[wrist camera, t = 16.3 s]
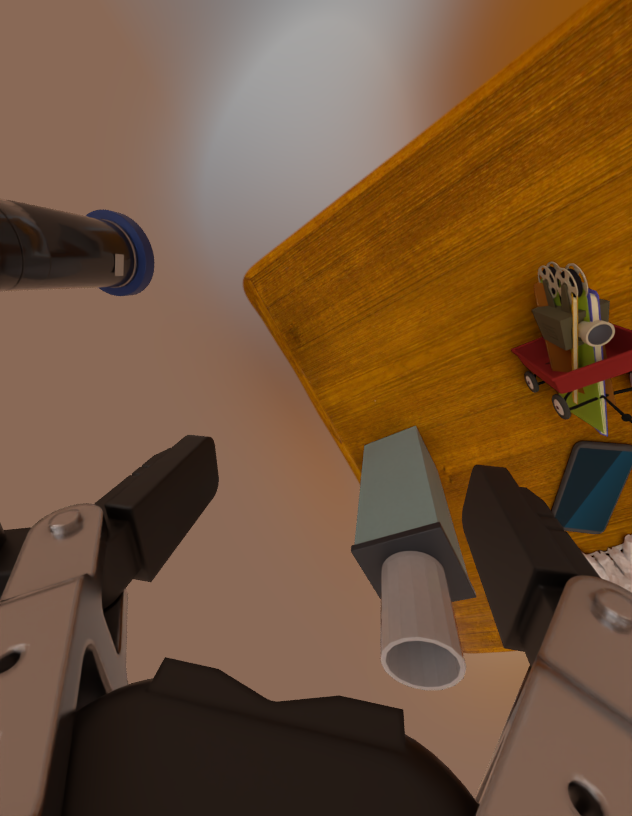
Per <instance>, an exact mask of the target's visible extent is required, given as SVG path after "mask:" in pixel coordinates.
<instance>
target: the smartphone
mask: <svg viewBox="0 0 632 816" xmlns="http://www.w3.org/2000/svg"><path fill="white" fill-rule="evenodd" d="M631 469H632V445H628V444H616V443H602V442H589V441H581V442H578V443H576V444H575V445H574V447H573V450H572V452H571V455H570V458H569V461H568V464H567V467H566V470H565V473H564V476H563V479H562V481H561V484H560V487H559V490H558V493H557V496H556V499H555V502H554V505H553V508H552V513H553V514H554V518H556V519H557V520H558V521H559V522H560V524H561V525H562V526H563V528H564V530H565V531H573V532H581V533H590V534H600V533H602V532H604V530H605V529H606V526H607V524H608V522H609V519H610V517H611V515H612V513H613V510H614V508H615V506H616V503H617V501H618V499H619V496H620V494H621V492H622V490H623V487H624V485H625V483H626V480H627V478H628V476H629V473H630V471H631Z"/></svg>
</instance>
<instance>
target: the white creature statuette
mask: <svg viewBox="0 0 632 816" xmlns="http://www.w3.org/2000/svg"><path fill="white" fill-rule="evenodd" d="M622 549H623V552H621V551H620V550H622ZM582 553H583V552H582ZM600 553H601V554H600ZM600 553H598V552H597V551H596V552H594V553H591V554H588V555H587V554H584V553H583V555H584V556H585V557H586V559H587V560H588V561H589V563H590V564H591V565H592V567H593V568H594V569H595V571H596V572H597V573H598V575H599V576H600V577H601V579H604V580H607V581H610V582H612V583H614V584H617V585H619V586H621V587H623V588H624V589H626V590H628V591H630V592H631V593H632V535H631V536H630V535H629V534H628V535H627V536H625V539H624V543H623V544H620V545H618V546H615V547H612V549H609V548H608V549H607V551H606V552H603V551H600ZM606 553H609V554H610V557H611V558H612V559H613V560H611V558H610V557H609V556H607V555H606ZM593 555H594V556H595V557H593V558H592V557H591V556H593ZM595 559H596V560H597V561H596V560H595Z"/></svg>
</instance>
